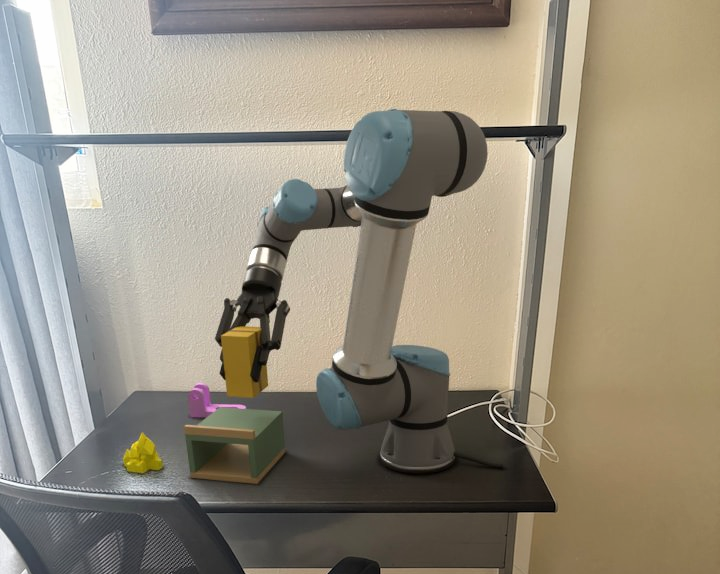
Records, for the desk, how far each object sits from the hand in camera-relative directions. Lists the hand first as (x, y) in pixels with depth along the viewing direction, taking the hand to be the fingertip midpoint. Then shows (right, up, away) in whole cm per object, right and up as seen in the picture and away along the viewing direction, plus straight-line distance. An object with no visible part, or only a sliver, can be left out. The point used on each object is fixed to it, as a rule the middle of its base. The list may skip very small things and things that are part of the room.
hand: (238, 377), depth 135 cm
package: (+1, -2, +5) cm, 5 cm away
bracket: (-11, -4, +36) cm, 38 cm away
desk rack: (-1, -17, +8) cm, 18 cm away
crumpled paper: (-21, -17, +8) cm, 28 cm away
